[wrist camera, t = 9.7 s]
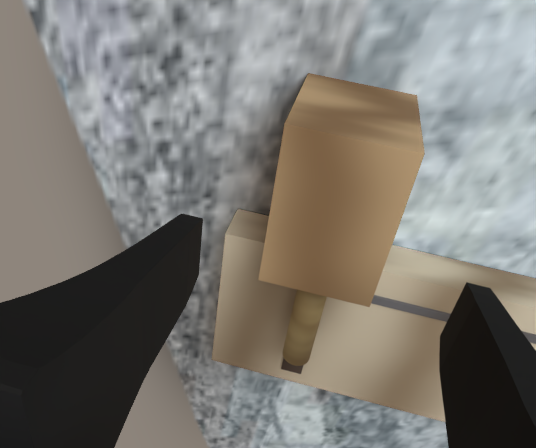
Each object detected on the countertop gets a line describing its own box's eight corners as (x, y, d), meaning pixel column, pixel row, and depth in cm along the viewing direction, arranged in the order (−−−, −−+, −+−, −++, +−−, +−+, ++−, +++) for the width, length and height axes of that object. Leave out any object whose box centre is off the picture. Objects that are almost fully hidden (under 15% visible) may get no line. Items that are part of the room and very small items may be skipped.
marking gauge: (416, 94, 18) (424, 153, 14) (347, 310, 24) (338, 394, 20) (308, 72, 18) (284, 123, 14) (267, 290, 24) (243, 369, 20)
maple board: (709, 319, 20) (739, 358, 18) (606, 430, 25) (622, 470, 23) (237, 208, 22) (224, 234, 20) (222, 331, 26) (211, 361, 25)
